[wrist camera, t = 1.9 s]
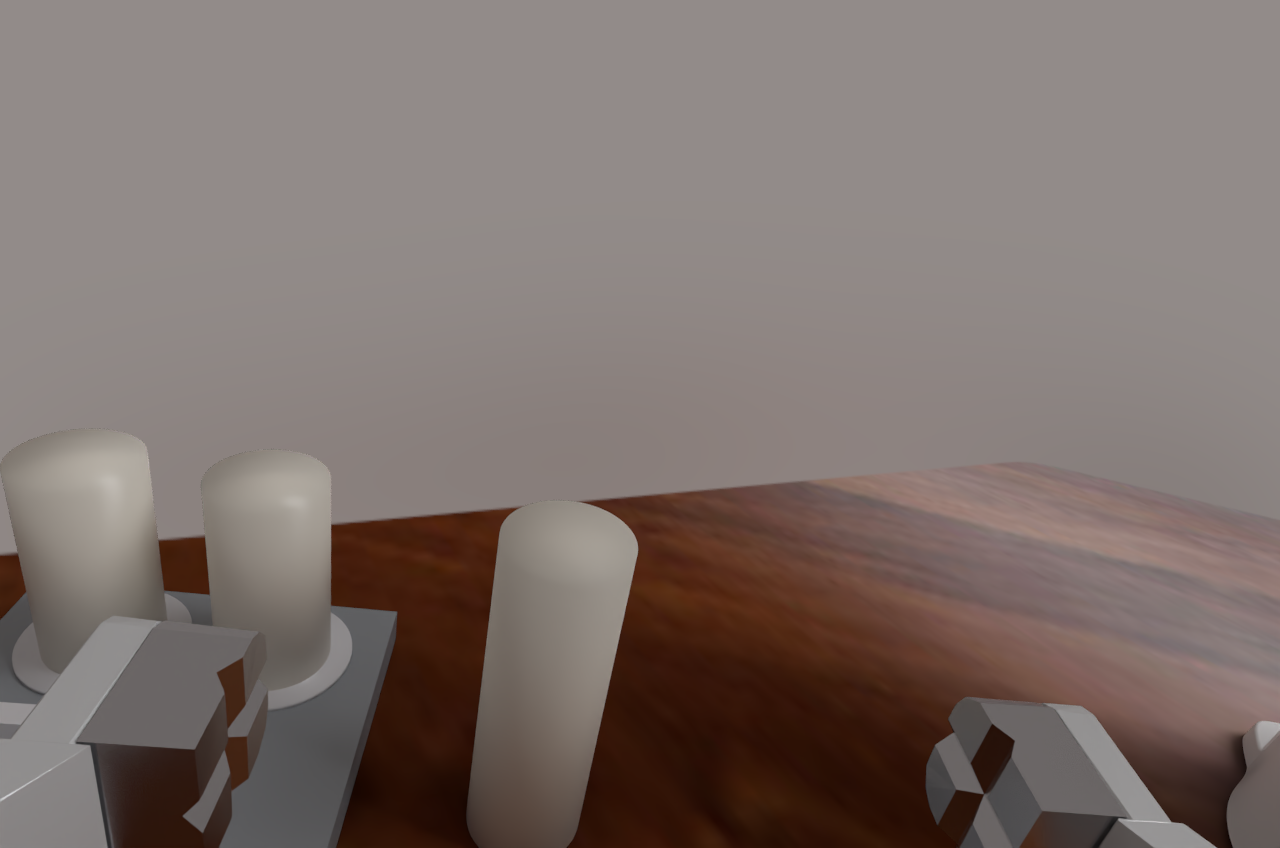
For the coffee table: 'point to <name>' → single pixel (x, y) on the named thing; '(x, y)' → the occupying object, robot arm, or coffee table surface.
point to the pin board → (203, 608)
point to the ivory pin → (546, 670)
